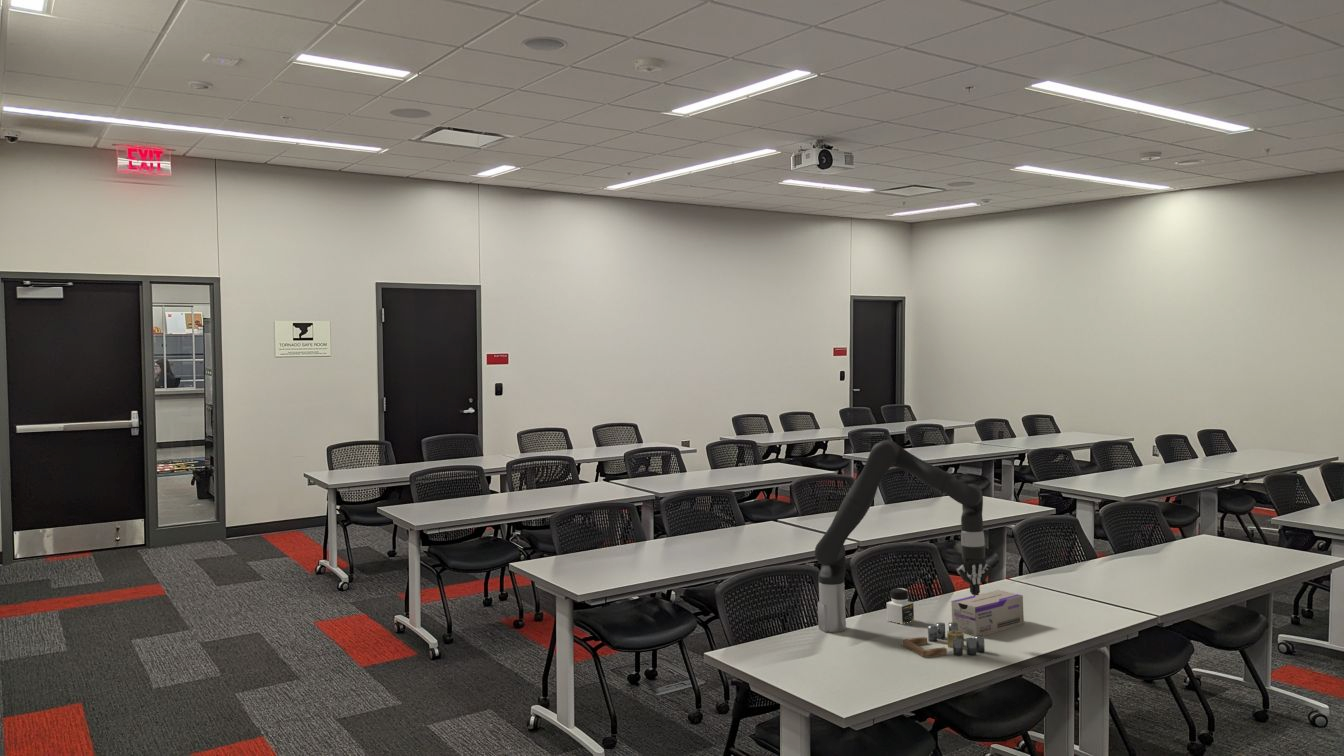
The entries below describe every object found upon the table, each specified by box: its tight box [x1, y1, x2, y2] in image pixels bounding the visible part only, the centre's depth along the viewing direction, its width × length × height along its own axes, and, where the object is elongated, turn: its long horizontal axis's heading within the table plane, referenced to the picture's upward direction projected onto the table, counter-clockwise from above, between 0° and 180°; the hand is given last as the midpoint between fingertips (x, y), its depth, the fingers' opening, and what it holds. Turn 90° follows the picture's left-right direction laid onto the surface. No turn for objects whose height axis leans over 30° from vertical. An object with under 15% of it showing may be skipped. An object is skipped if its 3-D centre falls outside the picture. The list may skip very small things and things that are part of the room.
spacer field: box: [927, 621, 986, 657], centre depth 297 cm, size 11×22×5 cm, turn 13°
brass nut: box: [946, 630, 965, 649], centre depth 297 cm, size 6×5×4 cm
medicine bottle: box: [886, 587, 915, 625], centre depth 329 cm, size 7×7×12 cm
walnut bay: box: [901, 636, 948, 659], centre depth 295 cm, size 8×14×2 cm, turn 13°
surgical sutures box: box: [951, 589, 1025, 638], centre depth 317 cm, size 25×11×11 cm, turn 121°
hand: (975, 594), depth 299 cm, fingers closed
